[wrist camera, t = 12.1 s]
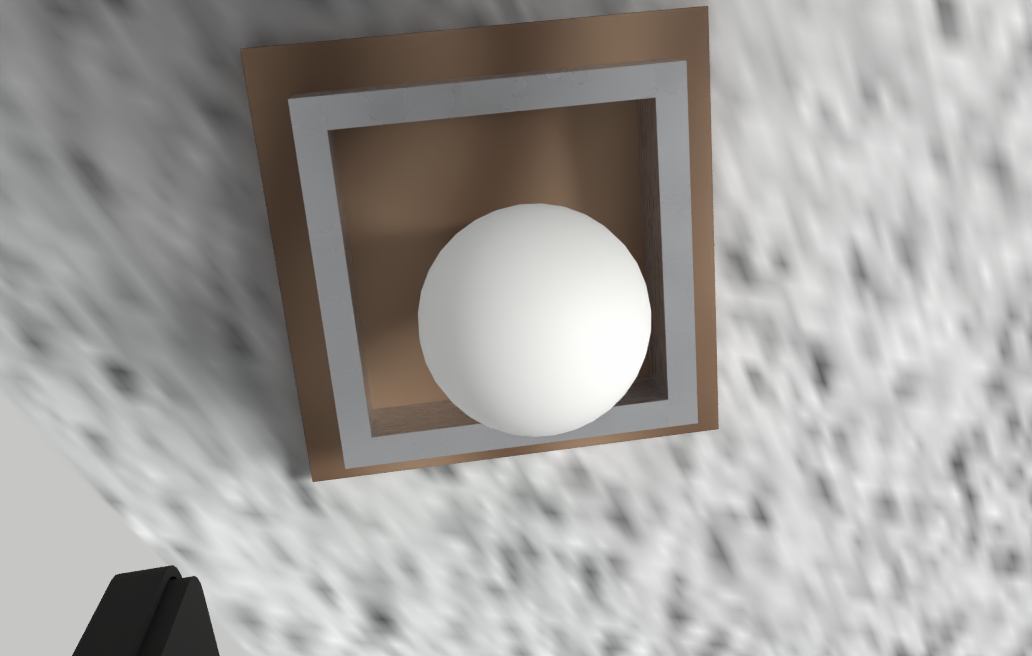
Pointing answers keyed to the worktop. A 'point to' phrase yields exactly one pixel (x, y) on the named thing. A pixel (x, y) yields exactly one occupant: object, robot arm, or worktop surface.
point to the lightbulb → (534, 320)
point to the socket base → (466, 192)
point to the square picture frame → (649, 81)
